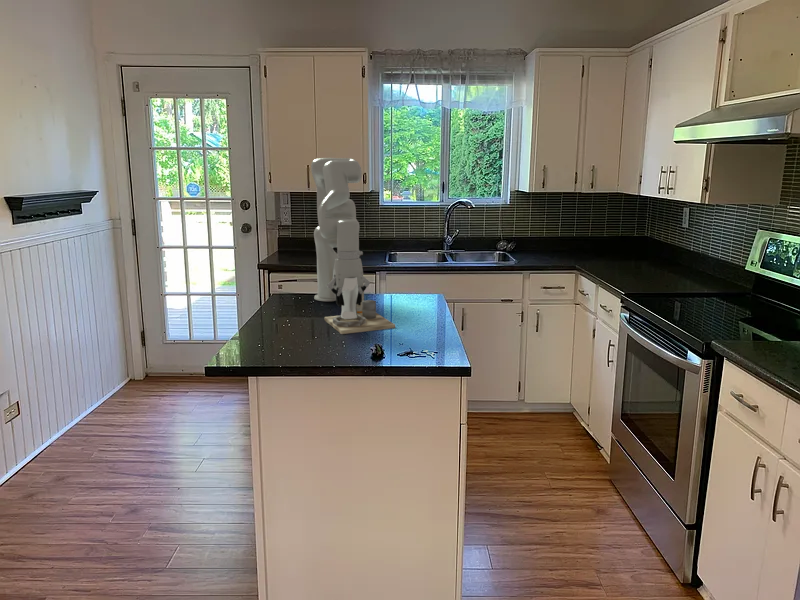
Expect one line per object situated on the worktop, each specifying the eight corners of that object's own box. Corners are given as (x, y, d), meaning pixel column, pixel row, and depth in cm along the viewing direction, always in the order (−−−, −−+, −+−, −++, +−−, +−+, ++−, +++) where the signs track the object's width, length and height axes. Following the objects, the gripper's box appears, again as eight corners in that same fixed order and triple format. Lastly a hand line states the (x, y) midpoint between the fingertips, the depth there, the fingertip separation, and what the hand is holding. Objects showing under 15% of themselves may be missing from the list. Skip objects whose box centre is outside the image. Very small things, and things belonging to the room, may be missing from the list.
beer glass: (335, 318, 209) (334, 276, 206) (346, 314, 215) (345, 273, 212) (352, 321, 206) (351, 278, 202) (362, 316, 212) (362, 275, 208)
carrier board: (324, 320, 218) (324, 301, 217) (374, 314, 226) (374, 296, 225) (341, 334, 201) (340, 313, 199) (395, 327, 208) (395, 308, 207)
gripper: (367, 252, 212) (368, 300, 216) (321, 255, 205) (322, 305, 209) (375, 255, 205) (375, 305, 209) (327, 258, 199) (328, 310, 203)
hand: (349, 304), depth 209 cm, fingers closed on beer glass, 6 cm apart
